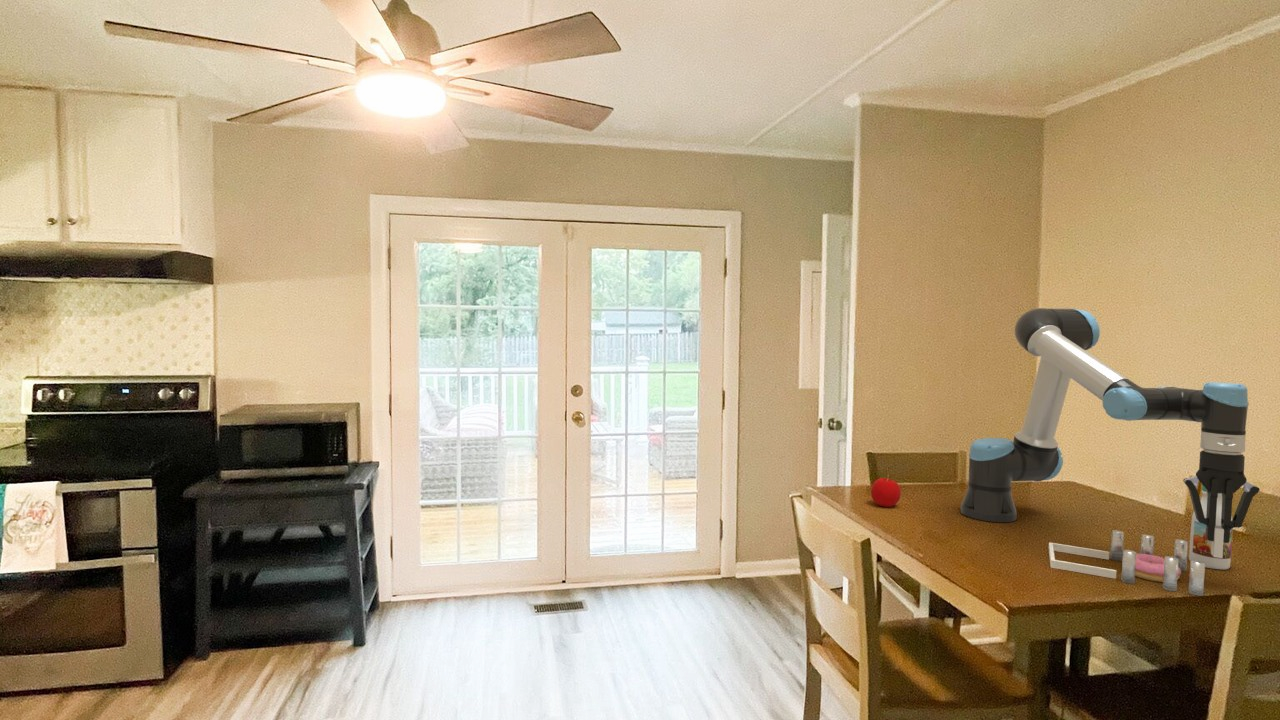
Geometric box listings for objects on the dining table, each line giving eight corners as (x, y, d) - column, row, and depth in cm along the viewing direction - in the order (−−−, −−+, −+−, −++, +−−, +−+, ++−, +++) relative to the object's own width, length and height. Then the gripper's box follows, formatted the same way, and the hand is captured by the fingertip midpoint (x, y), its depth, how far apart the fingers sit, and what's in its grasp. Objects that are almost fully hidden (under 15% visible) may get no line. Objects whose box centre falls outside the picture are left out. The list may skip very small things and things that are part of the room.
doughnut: (1111, 570, 157) (1112, 553, 157) (1139, 564, 161) (1140, 548, 161) (1162, 587, 147) (1164, 569, 147) (1191, 581, 151) (1192, 563, 151)
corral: (1050, 567, 157) (1051, 560, 157) (1048, 549, 171) (1048, 542, 171) (1116, 578, 151) (1116, 571, 151) (1108, 558, 164) (1109, 551, 164)
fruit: (904, 509, 206) (906, 478, 205) (875, 509, 206) (877, 477, 205) (893, 501, 215) (895, 471, 215) (866, 501, 215) (867, 471, 215)
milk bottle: (1180, 559, 165) (1185, 480, 164) (1208, 559, 166) (1213, 480, 165) (1209, 570, 158) (1215, 488, 156) (1239, 570, 158) (1244, 488, 157)
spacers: (1119, 581, 149) (1121, 551, 149) (1109, 556, 166) (1111, 529, 165) (1204, 596, 142) (1206, 564, 141) (1185, 568, 158) (1187, 540, 158)
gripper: (1188, 451, 147) (1183, 555, 148) (1266, 457, 140) (1260, 566, 141) (1181, 446, 153) (1176, 546, 154) (1255, 452, 147) (1250, 556, 148)
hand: (1216, 555), depth 148 cm, fingers closed
